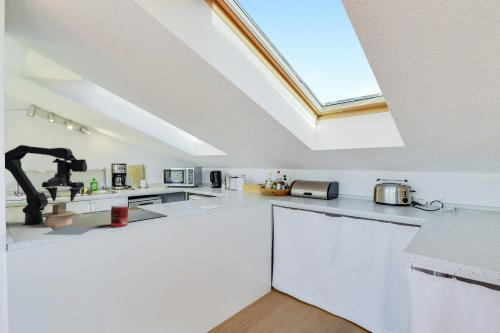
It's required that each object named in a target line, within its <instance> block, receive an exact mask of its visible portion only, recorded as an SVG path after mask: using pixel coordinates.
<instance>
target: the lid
mask: <svg viewBox="0 0 500 333" xmlns="http://www.w3.org/2000/svg"><path fill="white" fill-rule="evenodd" d="M76 212H77V211H69V210H67V203H66V202H59V203H53V204H52V211H51V212H46V213H42V217H43V219H44V218H45V219H46V218H59V217H68V216H72V217H73V216H75V215H76Z"/></svg>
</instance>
